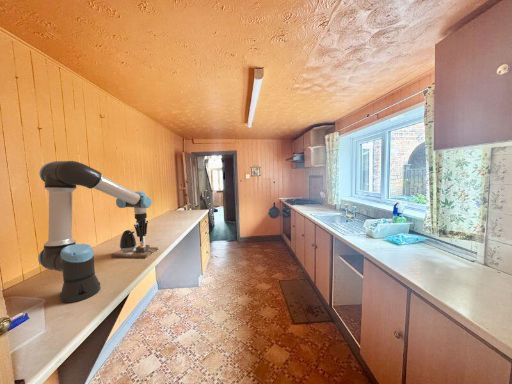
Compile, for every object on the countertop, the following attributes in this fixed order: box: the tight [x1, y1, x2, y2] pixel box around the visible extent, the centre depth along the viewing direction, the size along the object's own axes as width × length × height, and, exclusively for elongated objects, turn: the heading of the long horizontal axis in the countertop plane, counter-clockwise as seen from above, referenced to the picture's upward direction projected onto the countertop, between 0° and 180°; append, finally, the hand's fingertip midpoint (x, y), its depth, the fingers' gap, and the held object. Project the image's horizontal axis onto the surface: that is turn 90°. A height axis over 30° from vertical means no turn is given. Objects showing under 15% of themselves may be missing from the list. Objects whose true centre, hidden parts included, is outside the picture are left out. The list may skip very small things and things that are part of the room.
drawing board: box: [110, 244, 159, 259], centre depth 151 cm, size 16×25×6 cm, turn 85°
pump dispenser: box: [119, 229, 137, 252], centre depth 151 cm, size 10×10×15 cm
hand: (142, 245), depth 150 cm, fingers closed
